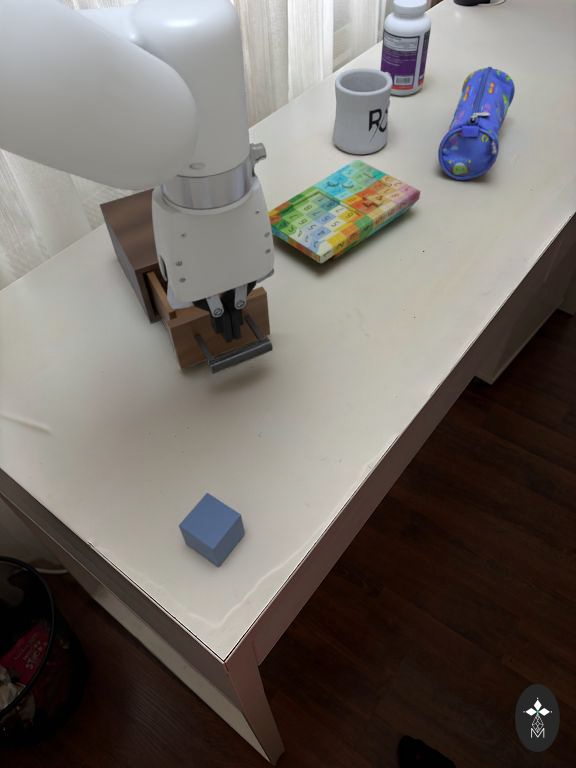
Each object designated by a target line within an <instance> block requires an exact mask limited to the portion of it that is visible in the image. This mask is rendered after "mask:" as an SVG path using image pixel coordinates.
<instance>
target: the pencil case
mask: <svg viewBox="0 0 576 768" xmlns="http://www.w3.org/2000/svg"><path fill="white" fill-rule="evenodd" d="M515 91H516V88H515V83H514V80H513V79H512V78H511V76H510V75H509V74H508V73H506V72H504V71H502V70H501V69H498V68H493V67H492V66H488V67H483V68H479V69H477V70H474V71H472V72H471V73H470V74H468V75H467V76H466V78H465V80H464V81H463V84H462V87H461V95H460V97H459V100H458V102H457V106H456V108H455V111H454V114H453V118H452V120H451V123H450V125H449V128H448V131H447V132H446V133H445V135H444V136H443V138H442V139H441V141H440V143H439V146H438V149H437V150H438V151H437V157H438V162H439V165H440V168H441V169H442V170H443V172H444V173H445V174H446V175H448V176H449V177H451V178H452V179H454V180H456V181H467V180H471V179H474V178H478V177H480V176H483V175H484V174H486V173H487V172H488V171H489V170H490V169H491V168H492V167H493V166H494V164H495V162H496V161H497V158H498V155H499V149H500V144H499V143H500V142H499V140H498V137H499V132H500V129H501V128H502V126H503V124H504V121H505V119H506V118H507V114H508V111H509V108H510V106H511V105H512V102H513V100H514V97H515V93H516V92H515Z"/></svg>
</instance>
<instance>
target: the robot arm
mask: <svg viewBox="0 0 576 768" xmlns="http://www.w3.org/2000/svg"><path fill="white" fill-rule="evenodd" d="M241 28H242V27H241V20H240V17H239V14H238V11H237V8H236V6H235V5H234V3H233V2H232V1H231V0H138V1H137V2H134V3H129V4H124V5H115V6H105V7H96V8H95V7H94V8H82V9H81V8H80V9H73V8H72V7H70V6H68V5H66V4H64V3H63V2H61V1H60V0H0V149H1V150H3V151H5V152H7V153H11V154H12V155H16V156H18V157H21V158H22V159H25V160H28V161H31V162H33V163H37V164H39V165H42V166H45V167H48V168H51V169H54V170H56V171H60V172H64V173H67V174H70V175H73V176H76V177H79V178H81V179H85V180H88V181H91V182H94V183H97V184H100V185H102V186H106V187H110V188H114V189H117V190H118V189H119V190H124V191H146V190H149V189H153V188H155V189H154V190H153V193H152V219H153V229H154V237H155V244H156V250H157V257H158V262H159V266H160V270H161V273H162V276H163V278H164V280H165V281H167V280H168V289H167V300H168V302H169V304H170V306H171V307H172V309H181V308H188V307H191V306H195V307H197V308H200V309H202V310H205V311H208V312H209V315H210V320H211V325H212V328H213V330H214V332H215V333H216V335H217V334H219V333H221V335H222V336H223V338H224V340H225V341H226V343H229V342H232V340H233V338H234V339H236V340H237V339H240V338H241V331H240V326H241V325H243V324H244V323H243V314H242V308H243V307H244V306H245V305H246V297H247V296H248V295H249V293H250V292H251V291H252V290H254V289H255V287H256V286H257V284H260V283H262V282H263V281H266V280H267V279H269V278H271V277H272V276H273V275H274V273H275V269H274V265H275V247H274V246H275V245H274V238H273V233H272V231H271V224H270V219H269V214H268V212H269V211H268V205H267V202H266V197H265V194H264V191H263V187H262V184H261V181H260V179H259V177H258V175H257V174H256V172H255V168H256V165H257V164H258V163H259V162H261V161H264V160H266V159H267V150H266V147H265V144H264V143H263V142H258V143H253V142H252V143H250V141H251V140H250V129H249V118H248V103H247V91H246V90H247V89H246V78H245V77H246V76H245V65H244V63H245V62H244V50H243V49H244V48H243V35H242V29H241ZM224 291H225V293H222V294H221V297H220V298H219V295H218V293H221V292H224Z"/></svg>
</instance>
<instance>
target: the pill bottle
mask: <svg viewBox="0 0 576 768" xmlns="http://www.w3.org/2000/svg"><path fill="white" fill-rule="evenodd" d="M392 2H393V3H392V12H390V13H389V14H388V15H387V16H386V18H385V19H384V23H383V24H384V25H383V33H382V45H381V46H382V47H381V56H380V57H381V59H380V68H379V69H380V70H379V71H382V72H384V73H385V72H388V73H390V75H391V77H392V83H393V85H392V89H391V94H390V95H394V96H409V95H412V94H415V93H417V92H418V91H420V90H421V89H422V87H423V86H424V80H425V72H426V66H427V65H426V64H427V59H428V52H429V51H428V50H429V45H430V36H431V29H432V20H431V18H430V16H429V15H428V14H427V13H426V10H427V3H428V2H427V0H393V1H392Z"/></svg>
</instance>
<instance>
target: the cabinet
mask: <svg viewBox="0 0 576 768" xmlns="http://www.w3.org/2000/svg"><path fill="white" fill-rule="evenodd" d="M155 188H156V187H154V188H151V189H145V190H142V191H140V192H137V193H132V194H130V195H125V196H123V197H120V198H117V199H113V200H110V201H107V202H103V203H99V208H100V210H101V211H100V212H101V214H102V217H103V220H104V223H105V227H106V228H107V233H108V235H109V238H110V241H111V244H112V248H113V249H114V253H115V256H116V259H117V261H118V262H119V265H120V267H121V269H122V271H123V272H124V274H125V277H126V278H127V280H128V282H129V284H130V286H131V288H132V290H133V292H134V295H135V297H136V298H137V300H138V302H139V304H140V306H141V308H142V310H143V311H144V313H145V315H146V318H147V319H148V322H149V323H150V324H153V323H156V322H159V321H162V319H161V317H160V315H159V313H158V311H157V309H156V307H155V306H154V304H153V302H152V300H151V298H150V296H149V294H148V290H147V287H146V284H145V280H144V277H143V273H144V272H147V271H150V270H153V269H156V268H159V267H160V266H159V262H158V257H157V250H156V244H155V237H154V229H153V219H152V193H153V190H154V189H155Z"/></svg>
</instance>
